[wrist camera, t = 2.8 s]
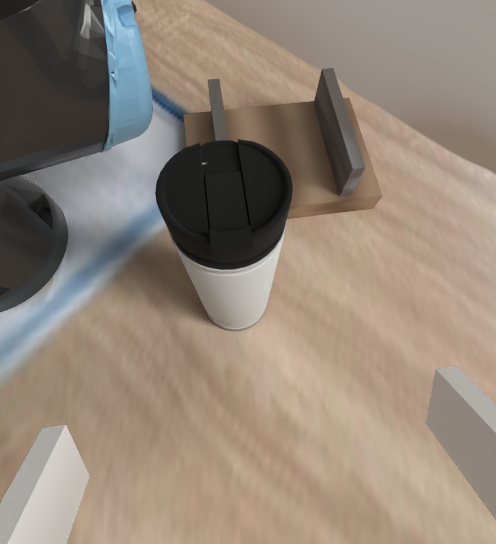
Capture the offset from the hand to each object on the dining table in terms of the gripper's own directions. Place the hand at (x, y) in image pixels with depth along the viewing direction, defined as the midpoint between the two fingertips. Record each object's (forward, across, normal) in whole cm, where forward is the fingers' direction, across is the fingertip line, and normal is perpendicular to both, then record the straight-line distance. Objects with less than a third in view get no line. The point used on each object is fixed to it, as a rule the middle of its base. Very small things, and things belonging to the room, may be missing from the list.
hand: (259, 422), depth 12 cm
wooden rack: (+31, +7, +5) cm, 32 cm away
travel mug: (+20, 0, -6) cm, 21 cm away
